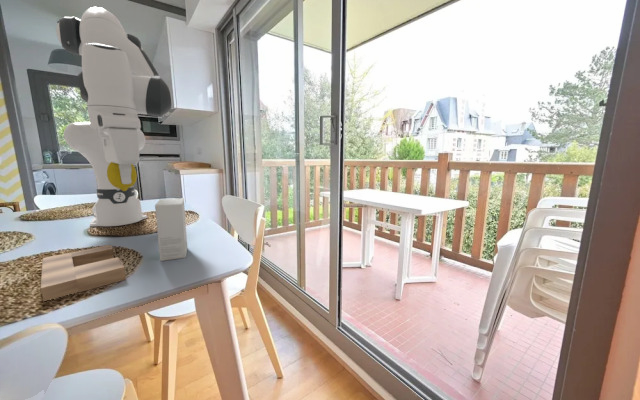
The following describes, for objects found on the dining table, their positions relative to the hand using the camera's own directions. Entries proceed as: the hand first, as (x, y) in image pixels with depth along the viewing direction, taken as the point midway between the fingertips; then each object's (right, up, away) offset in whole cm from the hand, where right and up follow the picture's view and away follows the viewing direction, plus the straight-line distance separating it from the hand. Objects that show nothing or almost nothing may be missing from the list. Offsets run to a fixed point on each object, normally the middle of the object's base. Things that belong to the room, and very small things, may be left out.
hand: (123, 182), depth 61 cm
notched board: (-10, -22, 0) cm, 24 cm away
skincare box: (+5, -20, +12) cm, 24 cm away
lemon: (0, -2, 0) cm, 2 cm away
